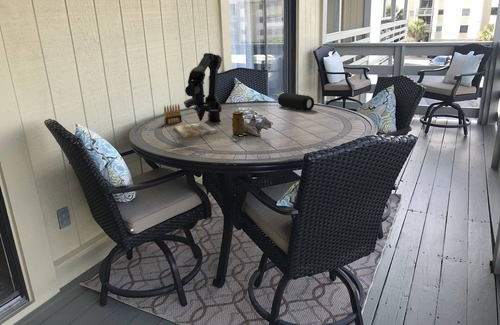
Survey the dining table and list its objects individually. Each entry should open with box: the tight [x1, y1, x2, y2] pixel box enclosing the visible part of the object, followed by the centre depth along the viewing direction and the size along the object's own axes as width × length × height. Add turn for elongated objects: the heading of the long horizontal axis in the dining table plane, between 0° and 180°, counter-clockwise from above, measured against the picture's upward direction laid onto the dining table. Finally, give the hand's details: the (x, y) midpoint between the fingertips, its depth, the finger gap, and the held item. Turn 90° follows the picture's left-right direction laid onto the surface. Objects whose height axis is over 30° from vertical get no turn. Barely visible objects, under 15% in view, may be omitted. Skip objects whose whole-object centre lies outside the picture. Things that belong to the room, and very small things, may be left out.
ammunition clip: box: [163, 103, 183, 125], centre depth 241 cm, size 11×2×12 cm, turn 125°
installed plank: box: [173, 124, 201, 139], centre depth 221 cm, size 9×20×2 cm, turn 26°
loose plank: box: [188, 122, 218, 136], centre depth 225 cm, size 9×20×2 cm, turn 26°
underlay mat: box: [167, 128, 221, 140], centre depth 223 cm, size 23×22×1 cm
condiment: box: [231, 111, 245, 137], centre depth 215 cm, size 7×8×12 cm
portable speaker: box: [277, 92, 315, 112], centre depth 274 cm, size 26×10×10 cm, turn 43°
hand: (200, 120), depth 228 cm, fingers closed
